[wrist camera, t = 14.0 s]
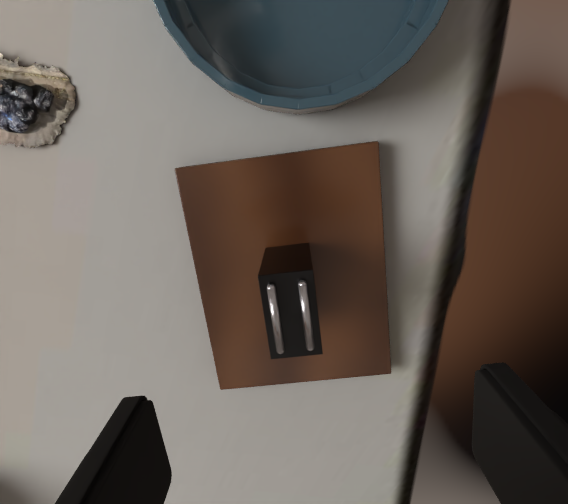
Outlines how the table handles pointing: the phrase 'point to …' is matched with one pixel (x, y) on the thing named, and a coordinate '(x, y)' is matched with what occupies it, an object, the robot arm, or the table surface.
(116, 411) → the robot arm
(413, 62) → the table surface
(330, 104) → the bowl
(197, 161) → the table surface
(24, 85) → the blueberries
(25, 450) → the table surface
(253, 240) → the serving board
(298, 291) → the clip
